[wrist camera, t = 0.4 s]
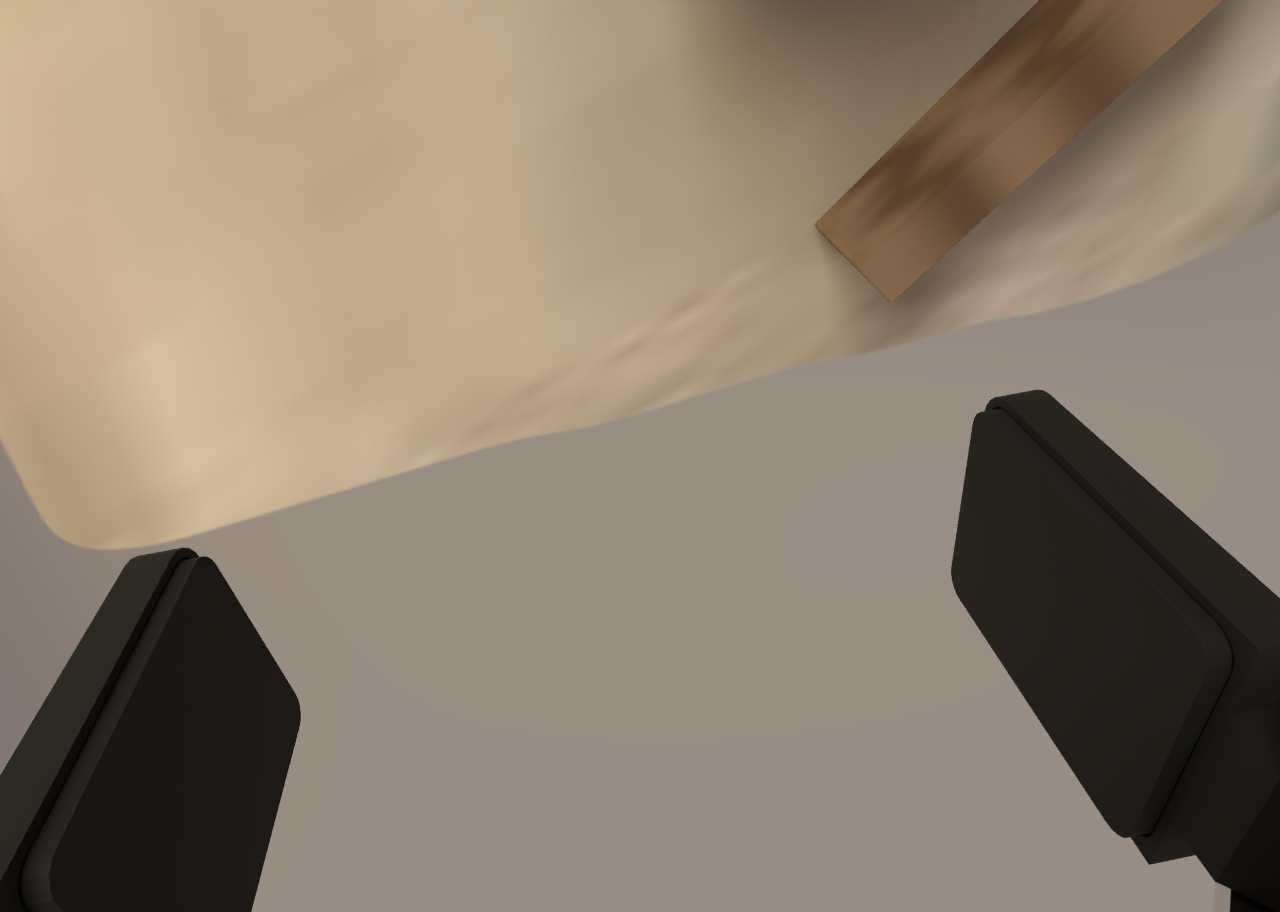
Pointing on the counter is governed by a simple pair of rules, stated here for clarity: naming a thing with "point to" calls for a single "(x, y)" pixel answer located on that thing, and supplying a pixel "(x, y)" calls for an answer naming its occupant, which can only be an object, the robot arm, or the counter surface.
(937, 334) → the counter surface
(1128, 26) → the stop board
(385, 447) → the counter surface
